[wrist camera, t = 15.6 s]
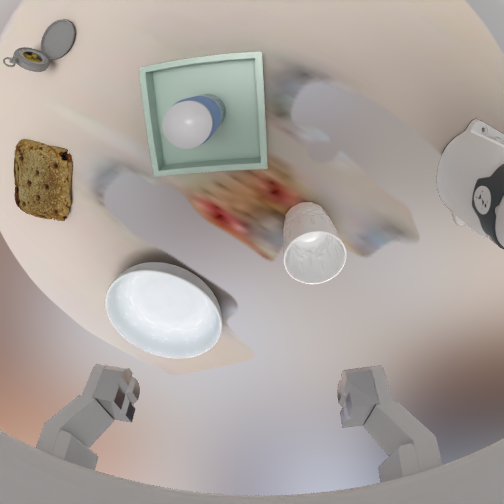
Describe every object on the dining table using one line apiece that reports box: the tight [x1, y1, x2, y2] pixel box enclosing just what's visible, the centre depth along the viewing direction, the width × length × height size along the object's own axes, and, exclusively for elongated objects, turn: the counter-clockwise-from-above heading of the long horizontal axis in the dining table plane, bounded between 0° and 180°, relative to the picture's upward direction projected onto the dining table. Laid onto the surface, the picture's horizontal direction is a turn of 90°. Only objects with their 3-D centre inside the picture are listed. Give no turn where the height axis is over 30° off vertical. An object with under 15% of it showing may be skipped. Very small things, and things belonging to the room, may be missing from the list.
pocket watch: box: [3, 19, 75, 72], centre depth 25 cm, size 8×8×10 cm
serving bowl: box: [105, 262, 222, 358], centre depth 51 cm, size 21×21×7 cm
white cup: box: [283, 202, 347, 284], centre depth 41 cm, size 8×8×10 cm
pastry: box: [14, 140, 73, 221], centre depth 40 cm, size 17×17×3 cm
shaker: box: [163, 94, 226, 149], centre depth 30 cm, size 5×5×12 cm
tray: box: [139, 52, 268, 177], centre depth 35 cm, size 15×15×4 cm
